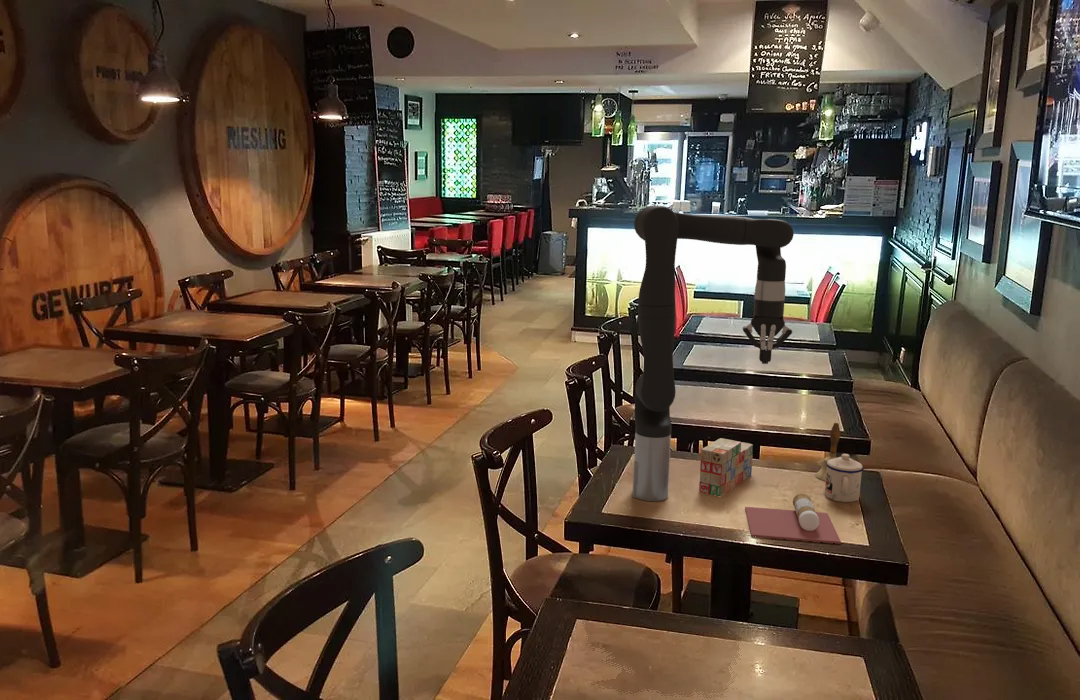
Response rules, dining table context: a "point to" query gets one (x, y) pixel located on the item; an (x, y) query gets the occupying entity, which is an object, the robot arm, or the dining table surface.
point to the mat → (788, 526)
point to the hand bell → (834, 440)
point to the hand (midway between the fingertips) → (764, 363)
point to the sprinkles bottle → (805, 512)
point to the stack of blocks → (724, 465)
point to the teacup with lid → (843, 479)
